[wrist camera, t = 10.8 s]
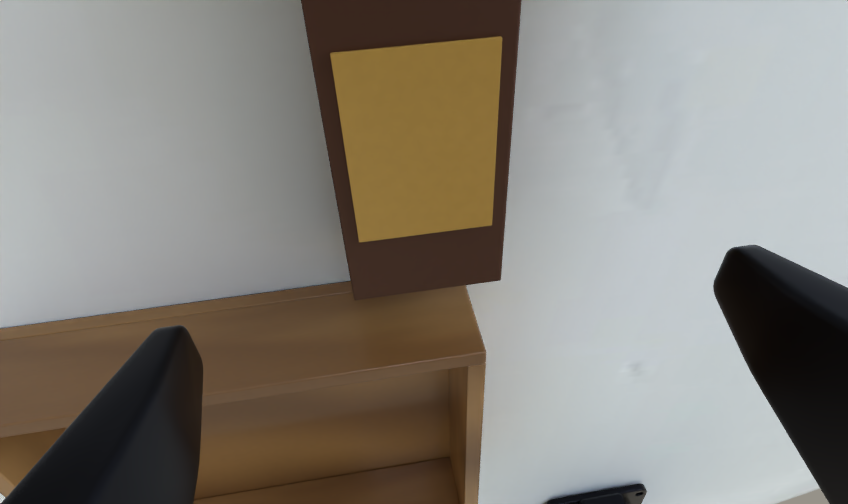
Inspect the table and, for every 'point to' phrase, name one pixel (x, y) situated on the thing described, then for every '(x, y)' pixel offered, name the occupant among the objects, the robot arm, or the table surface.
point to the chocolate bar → (417, 135)
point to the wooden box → (281, 393)
